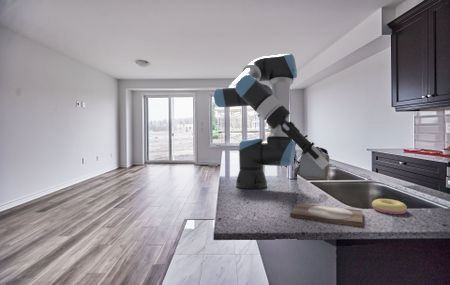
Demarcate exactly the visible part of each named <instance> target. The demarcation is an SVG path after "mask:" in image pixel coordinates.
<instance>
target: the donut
mask: <svg viewBox="0 0 450 285" xmlns="http://www.w3.org/2000/svg"><path fill="white" fill-rule="evenodd" d="M371 204H372V205H371V207H372V208H373V209H374V211H377V212H380V213H383V214H389V215H395V216H396V215H404V214H405V213H407V211H408V207H407V205H406V204H405V203H404V202H402V201H399V200H395V199H390V198H377V199H374V200H373V201H372V202H371Z"/></svg>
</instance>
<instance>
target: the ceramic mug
mask: <svg viewBox="0 0 450 285" xmlns="http://www.w3.org/2000/svg"><path fill="white" fill-rule="evenodd" d="M320 154H321V155H322V156H323V157H324V158H325V159H326V160H327V161H328V162H329V164H328V165H327V166H326V167H325V168H324V169H321V168H320V167H319V166H318V165H317V164H316V163H315V162H314V161H313V160H312V159H311V158H310V157H309V156H308V155H307V154H305V155H304V154H303V153H302V152H301V154H300V162H299V163H300V164H299V174H300V176H304V177H305V176H306V177H307V176H308V177H320V178H323V177H325V178H326V177H327V176H329V172H330V170H329V168H330V156H329V154H327V153H324V152H321V153H320Z"/></svg>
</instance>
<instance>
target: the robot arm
mask: <svg viewBox="0 0 450 285" xmlns="http://www.w3.org/2000/svg"><path fill="white" fill-rule="evenodd" d="M295 60H296V59H295V56H294V55H293V53H283V54H277V55H269V56H262V57H259V58H256V59H254V60H253V61H250V62H249V63H248V64H246V65H245V66H244V67H243V69H242V71H241V73H240V74H239V75H237V77H235V79H234V80H232V81H231V82H230V83H229V84H227V86H226V87H220V88H216V89H215V90H214V92H213V101H214V104H215V106H216V107H217V108H225V109H226V108H234V107H237V108H238V107H249V106H250V108H252V109H253V111H255V113H256V114H257V117H258V118H262V120H263V121H264V120H265V121H266V124H267V125H268V126H270V133H269V135H267V136H266V140H264V138H262V137H261V138H254V139H246V140H242V141H240V142H239V145H238V146H239V149H238V152H239V153H238V156H239V157H238V158H239V160H238V161H239V165H238V166H239V171H238V174H237V177H236V182H235V186H236V188H239V189H245V190H247V189H248V190H257V189H258V190H259V189H264V188H266V187H268V181H267V178H266V175H265V172H264V166H268V167H269V166H272V167H273V166H275V167H276V166H277V167H288V166H289V167H290V166H291V165H292V164H293V162H294V159H295V155H296V145H297V146H298V148H300V149H301V151H302V152H301V154H302V153H303V154H304V155H305V154H307V155H308V156H309V157H310V158H311V159H312V160H313V161H314V162H315V163H316V164H317V165H318V166H319V167H320V168H321V169H324V168H325V167H326V166H327V165H328V164H329V165H330V161H329V162H328V161H327V160H326V159H325V158H324V157H323V156H322V155H321V154H320V153H322V152H321V151H320V150H319V149H318V148H317V147H316V146H315V143H314V142H313V141H312V142H311V141H310V140H308V139H307V138H306V137H305V136H304V135H303V134H302V133H301V132H300V129H299V128H298V127H296V125H295V124H294V123H293V122H292V121H291V120H290V114H291V112H290V104H291V102H290V100H291V98H290V96H291V95H290V94H291V85H292V84H294V79H296V78H297V77H298V72H297V64H296V61H295ZM266 81H267V82H268V84H269V85H270V86H271V87H270V86H269V85H268V84H264V83H261V82H266Z"/></svg>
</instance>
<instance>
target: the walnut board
mask: <svg viewBox="0 0 450 285" xmlns="http://www.w3.org/2000/svg"><path fill="white" fill-rule="evenodd" d="M289 217H290V218H296V219H303V220H310V221H316V222H318V221H319V222H323V223H324V222H326V223H332V224H339V225H347V226H355V227H362V228H363V227H364V226H363V225H364V222H363V218H364V217H363V210H361V209H353V208H342V207H339V206H333V205H316V204H306V203H297V204H296V206H295V207H294V208H293V209H292V210H291V212H290V214H289Z"/></svg>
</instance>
